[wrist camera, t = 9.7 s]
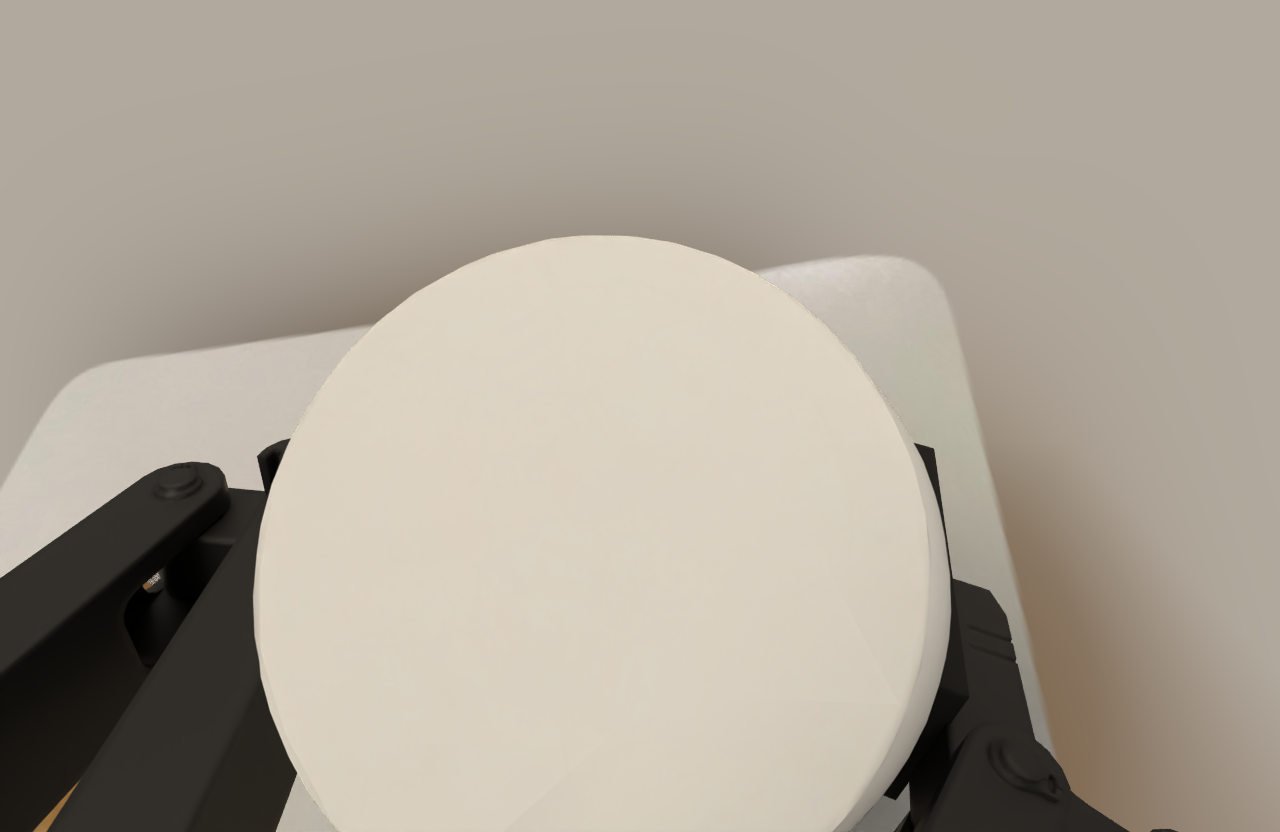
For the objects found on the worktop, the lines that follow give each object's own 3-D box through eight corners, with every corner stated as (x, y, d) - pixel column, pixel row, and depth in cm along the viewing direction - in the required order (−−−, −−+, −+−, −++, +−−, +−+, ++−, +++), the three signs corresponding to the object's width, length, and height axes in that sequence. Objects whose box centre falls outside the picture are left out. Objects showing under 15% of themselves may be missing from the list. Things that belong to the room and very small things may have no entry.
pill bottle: (833, 465, 19) (1144, 145, 5) (799, 748, 17) (1148, 1432, 3) (581, 423, 20) (294, 80, 6) (523, 681, 18) (-59, 967, 5)
